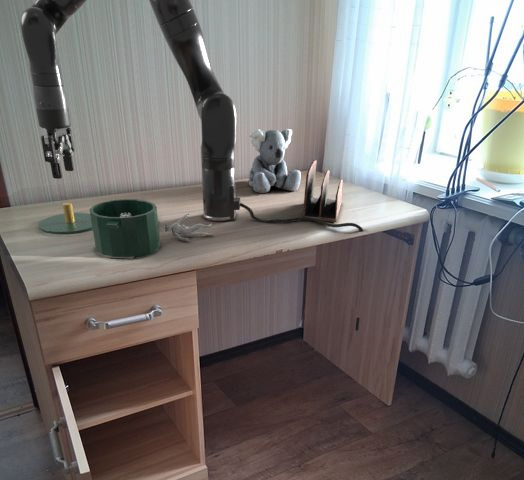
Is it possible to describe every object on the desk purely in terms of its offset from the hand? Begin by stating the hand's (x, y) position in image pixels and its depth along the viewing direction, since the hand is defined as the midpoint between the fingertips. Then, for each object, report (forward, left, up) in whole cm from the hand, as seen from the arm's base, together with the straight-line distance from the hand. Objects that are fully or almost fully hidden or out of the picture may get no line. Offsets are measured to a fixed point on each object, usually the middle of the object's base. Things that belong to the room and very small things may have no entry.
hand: (64, 174), depth 133 cm
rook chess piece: (-19, +14, -14) cm, 27 cm away
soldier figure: (-33, +5, -14) cm, 36 cm away
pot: (-19, +14, -14) cm, 27 cm away
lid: (+1, -1, -14) cm, 14 cm away
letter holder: (-70, -21, -14) cm, 74 cm away
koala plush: (-53, -49, -14) cm, 74 cm away
